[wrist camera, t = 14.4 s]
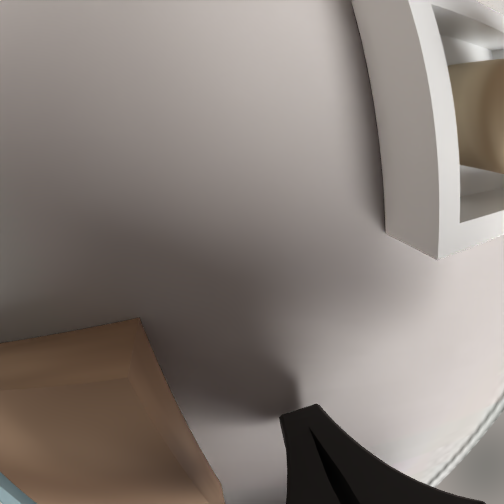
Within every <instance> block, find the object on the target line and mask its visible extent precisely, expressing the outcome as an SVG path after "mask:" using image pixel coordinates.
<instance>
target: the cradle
mask: <svg viewBox="0 0 504 504" xmlns="http://www.w3.org/2000/svg"><path fill="white" fill-rule="evenodd" d="M351 2H352V6H353V9H354V13H355V17H356V20H357V24H358V28H359V32H360V36H361V40H362V45H363V49H364V54H365V58H366V63H367V68H368V73H369V78H370V83H371V89H372V95H373V101H374V107H375V114H376V121H377V128H378V136H379V144H380V154H381V164H382V175H383V188H384V204H385V228H386V234H387V235H389V236H391V237H393V238H395V239H397V240H399V241H401V242H403V243H405V244H407V245H409V246H411V247H413V248H415V249H417V250H419V251H421V252H423V253H425V254H427V255H429V256H430V257H432V258H434V259H436V260H440V259H442V258H445V257H448V256H451V255H453V254H456V253H459V252H461V251H464V250H467V249H469V248H472V247H475V246H477V245H480V244H482V243H485V242H488V241H490V240H493V239H495V238H498V237H500V236H503V235H504V174H501V173H496V172H492V171H487V170H483V169H478V168H473V167H468V166H463V165H459V148H458V136H457V125H456V117H455V109H454V102H453V95H452V89H451V83H450V77H449V72H448V67H447V66H449V65H455V64H461V63H469V62H476V61H485V60H495V59H504V15H503V14H501V13H499V12H498V11H496V10H494V9H492V8H490V7H488V6H486V5H484V4H482V3H480V2H478V1H476V0H353V1H351Z"/></svg>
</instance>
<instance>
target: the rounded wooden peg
mask: <svg viewBox="0 0 504 504" xmlns="http://www.w3.org/2000/svg"><path fill="white" fill-rule="evenodd" d="M447 67H448V72H449V77H450V83H451V89H452V95H453V102H454V109H455V117H456V125H457V136H458V148H459V165H463V166H468V167H473V168H478V169H483V170H487V171H492V172H496V173H501V174H504V59H495V60H485V61H476V62H469V63H461V64H455V65H449V66H447Z"/></svg>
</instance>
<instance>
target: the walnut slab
mask: <svg viewBox="0 0 504 504" xmlns="http://www.w3.org/2000/svg"><path fill="white" fill-rule="evenodd" d="M0 472H1V473H2V474H3V475H4V476H5V477H6V478H7V479H8V480H10V481H11V482H12V483H13V484H14V485H15V486H16V487H17V488H19V489H20V490H21V491H22V492H23V493H24V494H26V495H27V496H28V497H29V498H31V499H32V500H33V501H34V502H36V503H37V504H225V501H224V496H223V491H222V485H221V483H220V481H219V480H218V478H217V477H216V475H215V473H214V472H213V470H212V468H211V466H210V465H209V463H208V461H207V460H206V458H205V456H204V454H203V453H202V451H201V449H200V447H199V445H198V444H197V442H196V440H195V438H194V436H193V434H192V432H191V431H190V429H189V427H188V425H187V423H186V421H185V419H184V417H183V415H182V413H181V411H180V409H179V407H178V405H177V403H176V401H175V399H174V397H173V395H172V393H171V390H170V388H169V386H168V384H167V382H166V380H165V377H164V375H163V373H162V371H161V369H160V366H159V364H158V362H157V359H156V357H155V355H154V352H153V350H152V348H151V345H150V343H149V340H148V338H147V335H146V333H145V330H144V328H143V325H142V323H141V320H140V318H135V319H130V320H126V321H121V322H116V323H111V324H106V325H101V326H96V327H90V328H85V329H80V330H75V331H69V332H64V333H58V334H53V335H47V336H41V337H36V338H30V339H24V340H18V341H11V342H5V343H0Z"/></svg>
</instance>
